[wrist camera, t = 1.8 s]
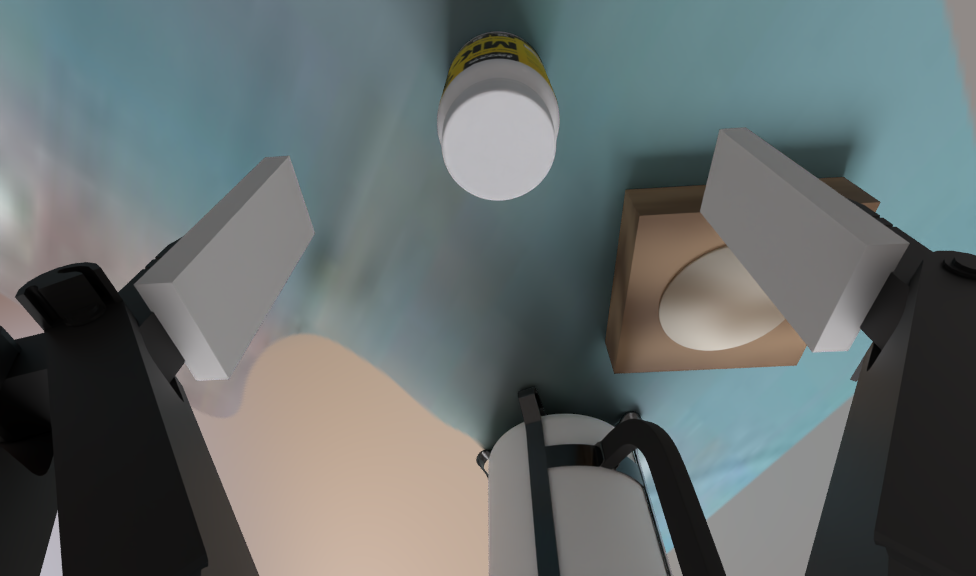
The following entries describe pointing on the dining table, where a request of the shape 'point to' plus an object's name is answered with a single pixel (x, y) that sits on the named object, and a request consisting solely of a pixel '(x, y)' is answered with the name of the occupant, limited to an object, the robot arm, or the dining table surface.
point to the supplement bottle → (498, 117)
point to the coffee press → (590, 499)
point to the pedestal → (692, 291)
